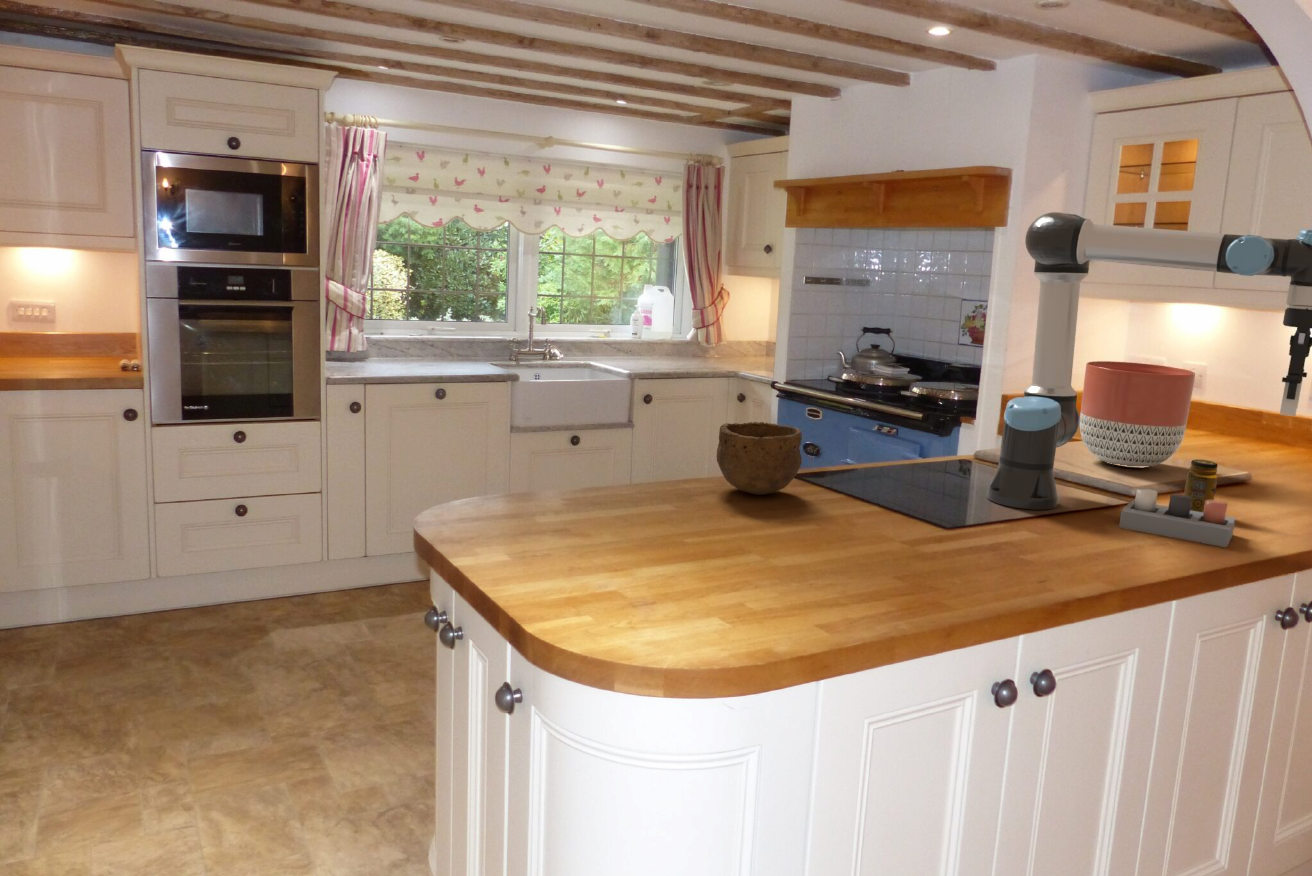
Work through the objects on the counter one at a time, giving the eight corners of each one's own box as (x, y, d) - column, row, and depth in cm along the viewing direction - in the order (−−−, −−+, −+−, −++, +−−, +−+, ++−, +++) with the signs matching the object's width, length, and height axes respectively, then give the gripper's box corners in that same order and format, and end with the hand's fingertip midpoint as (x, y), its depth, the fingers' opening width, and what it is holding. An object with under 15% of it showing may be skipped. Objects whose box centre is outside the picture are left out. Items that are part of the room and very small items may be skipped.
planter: (1062, 464, 272) (1076, 365, 267) (1085, 450, 294) (1098, 358, 289) (1171, 482, 258) (1187, 378, 252) (1186, 466, 279) (1201, 369, 274)
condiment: (1219, 515, 226) (1228, 463, 224) (1199, 519, 222) (1207, 466, 219) (1187, 507, 232) (1195, 456, 230) (1167, 511, 228) (1175, 459, 225)
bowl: (702, 496, 220) (706, 429, 217) (729, 478, 237) (733, 416, 234) (785, 508, 213) (791, 439, 210) (807, 489, 230) (812, 425, 227)
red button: (1201, 521, 207) (1204, 502, 206) (1203, 517, 210) (1206, 498, 209) (1223, 524, 204) (1226, 505, 204) (1225, 521, 208) (1228, 502, 207)
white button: (1132, 508, 214) (1135, 490, 213) (1135, 505, 217) (1138, 487, 216) (1153, 512, 212) (1156, 494, 211) (1156, 508, 215) (1159, 490, 214)
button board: (1119, 527, 212) (1121, 510, 211) (1129, 515, 222) (1131, 500, 221) (1226, 547, 201) (1229, 530, 200) (1232, 534, 211) (1235, 518, 210)
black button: (1166, 514, 210) (1169, 496, 209) (1169, 511, 213) (1172, 492, 213) (1187, 518, 208) (1190, 499, 207) (1190, 514, 211) (1193, 496, 210)
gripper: (1329, 311, 191) (1308, 421, 196) (1329, 307, 212) (1311, 406, 216) (1283, 308, 195) (1264, 415, 200) (1287, 304, 216) (1270, 402, 220)
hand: (1288, 411), depth 208 cm, fingers open, 13 cm apart
